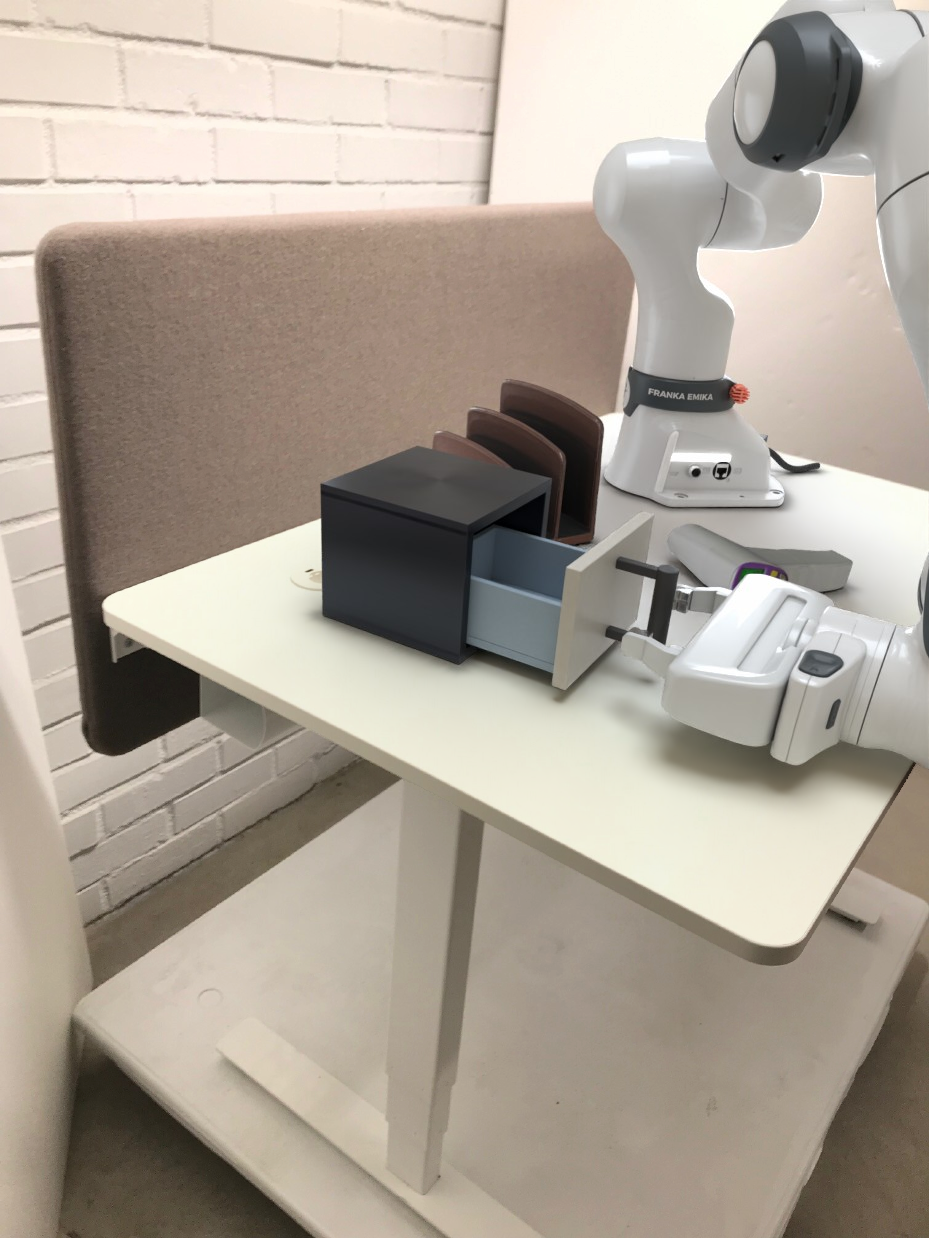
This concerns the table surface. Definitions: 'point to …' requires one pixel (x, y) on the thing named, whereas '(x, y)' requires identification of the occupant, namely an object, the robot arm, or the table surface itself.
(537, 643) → the open pull-out drawer
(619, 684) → the table surface
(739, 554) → the infrared thermometer
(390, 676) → the table surface
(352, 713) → the table surface
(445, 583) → the cabinet
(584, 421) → the letter holder
